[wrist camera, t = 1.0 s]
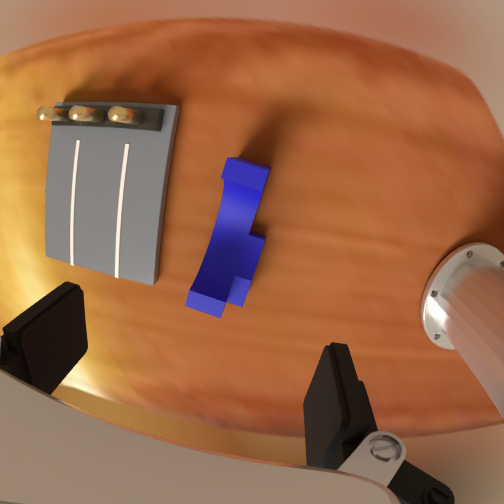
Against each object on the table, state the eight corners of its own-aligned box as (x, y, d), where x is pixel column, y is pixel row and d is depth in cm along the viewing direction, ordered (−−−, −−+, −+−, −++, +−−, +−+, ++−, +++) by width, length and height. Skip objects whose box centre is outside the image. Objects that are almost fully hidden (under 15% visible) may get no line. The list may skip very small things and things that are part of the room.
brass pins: (164, 109, 25) (140, 101, 20) (160, 131, 25) (135, 128, 20) (61, 106, 25) (28, 103, 20) (58, 125, 25) (25, 124, 21)
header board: (180, 107, 26) (175, 105, 24) (157, 282, 31) (152, 287, 30) (62, 103, 26) (55, 102, 25) (52, 253, 31) (45, 257, 30)
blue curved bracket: (246, 292, 31) (238, 323, 25) (202, 278, 30) (185, 305, 25) (287, 173, 27) (289, 177, 21) (238, 157, 27) (227, 157, 21)
